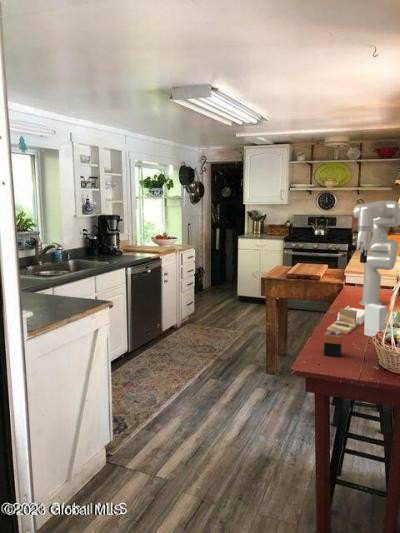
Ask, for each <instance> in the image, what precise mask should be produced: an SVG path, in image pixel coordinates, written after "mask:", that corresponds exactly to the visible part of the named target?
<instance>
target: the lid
mask: <svg viewBox="0 0 400 533" xmlns="http://www.w3.org/2000/svg"><path fill="white" fill-rule="evenodd" d="M339 312H340V315H339V320H337V319H336V321H334V322H333V323H332V324H330V325H329V326H327V328H326V330H327V331H330V332H337V331H338V332H340V333H341V334H345V335H346V334H350V333H351V332H352V331H353V330H354V329H355V328H356V327H358V326H359V325H358V322H356V315H357V311H353V310H347V309H345V308H340V309H339Z"/></svg>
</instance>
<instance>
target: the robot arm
mask: <svg viewBox="0 0 400 533" xmlns="http://www.w3.org/2000/svg"><path fill="white" fill-rule="evenodd" d="M352 215H353V217H354V218H356V219H358V220H357V223H358V224H357V232H358V234H357V242H356V250H357V251H359V256H360V258H359V263H361V264H363V284H362V296H361V297H362V300H360V301H359V304H360V305H361V306H363V307H365V305H368V304H377V305H382V306H383V302H380V299H381V298H380V297H381V284H382V283H381V282H382V280H381V279H382V276H381V273H380V272H379V270H385V271H388V270H389V271H392V270H393V269H394V268H395V266H396V261H397V257H398V253H399V252H398V251H399V242H398V241H397V240H395V239H390V238H388V237H389V236H388V233H387V232H386V230H385V229H384V228H383V227H389V228H391V227H393V228H396V227H399V226H400V205H399V203H398V202H397V201H396V200H377V201H375V202H374V201H373V202H365V203H364V202H363V203H359V204H356V205H354V208H353V210H352ZM368 251H369V252H368Z"/></svg>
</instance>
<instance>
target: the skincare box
mask: <svg viewBox="0 0 400 533" xmlns="http://www.w3.org/2000/svg"><path fill="white" fill-rule="evenodd" d="M387 308H388V307H387V306H386V305H383V304H382V305H377V304H368V305H365V306H364V310H365V322H364V323H363V324H364V329H363V330H364V331H363V335H364V336H368V337H370V338H374V337H373V336H375V335H376V334H377V332H380V331H382V330H384V328H385V321H384V319H386V320H387V314H388V313H387V310H388V309H387Z"/></svg>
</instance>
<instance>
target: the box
mask: <svg viewBox="0 0 400 533" xmlns="http://www.w3.org/2000/svg"><path fill="white" fill-rule="evenodd" d="M344 309H347V310H353V311H357V315H356V322H358V325H357V326H361V325H363V324H364V323H365V309H362V308H355V307H350V305H347V306H346V307H345V308H344ZM339 315H340V311H339V312H338V313H337V319H336V321H337V320H339Z"/></svg>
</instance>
